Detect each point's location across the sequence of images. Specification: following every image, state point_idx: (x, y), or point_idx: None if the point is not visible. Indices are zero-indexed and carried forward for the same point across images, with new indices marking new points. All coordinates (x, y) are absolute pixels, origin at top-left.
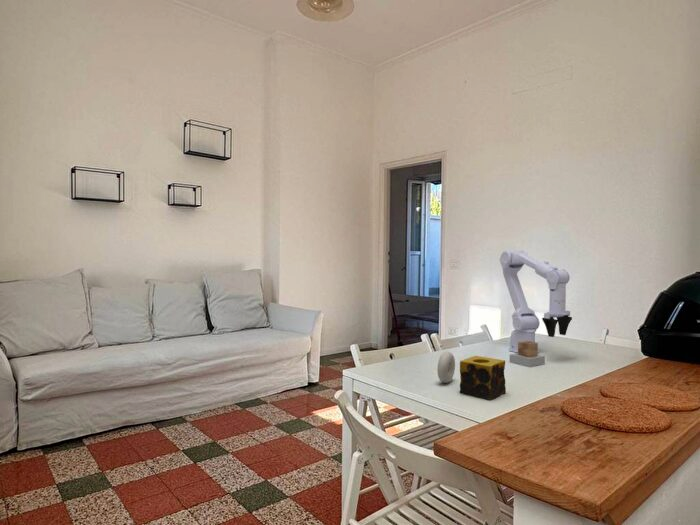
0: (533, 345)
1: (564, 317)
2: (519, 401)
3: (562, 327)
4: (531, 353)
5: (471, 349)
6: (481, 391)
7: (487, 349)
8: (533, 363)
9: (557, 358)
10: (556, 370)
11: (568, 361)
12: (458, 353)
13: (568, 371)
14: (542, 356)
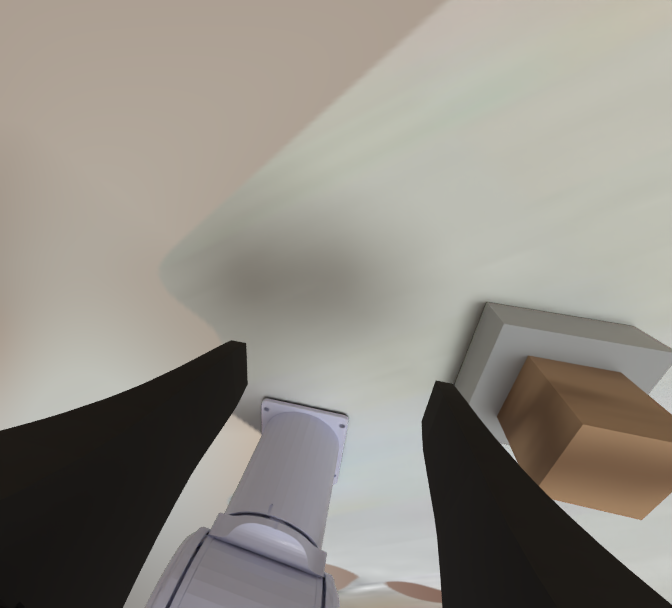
0: (635, 424)
1: (28, 596)
2: None
3: (196, 422)
4: (615, 384)
5: (417, 558)
6: None
7: (372, 528)
8: (614, 329)
9: (296, 306)
10: (635, 182)
11: (315, 239)
12: None
13: (619, 105)
14: (525, 330)
